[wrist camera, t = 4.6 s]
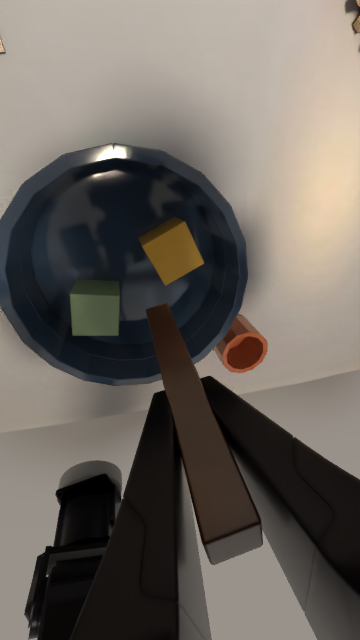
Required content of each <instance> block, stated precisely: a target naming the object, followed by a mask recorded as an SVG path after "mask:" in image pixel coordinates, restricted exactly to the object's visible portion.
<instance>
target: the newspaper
mask: <svg viewBox="0 0 360 640" xmlns="http://www.w3.org/2000/svg"><path fill="white" fill-rule="evenodd" d="M0 52H5V51H4V48H3V45H2V42H1V39H0Z"/></svg>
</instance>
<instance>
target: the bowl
mask: <svg viewBox="0 0 360 640" xmlns="http://www.w3.org/2000/svg"><path fill="white" fill-rule="evenodd" d="M174 216H175V217H177V218H179V219H181V220H183V221H185V222H186V224H187V226H188V228H189V231H190V233H191V235H192V237H193V239H194V241H195V244H196V246H197V248H198V250H199V252H200V254H201V256H202V259H203V261H204V264H203V265H201V266H199V267H197V268H196V269H194V270H192V271H190V272H189V273H187V274H185V275H184V276H182V277H180V278H178V279H177V280H175V281H173V282H171V283H170V284H168V285H166V286H165V285H164V283H163V281H162V280H161V278H160V276H159V275H158V273H157V271H156V269H155V268H154V266H153V264H152V263H151V261H150V259H149V257H148V256H147V254H146V252H145V251H144V249H143V247H142V245H141V243H140V241H139V237H140V236H142V235H144V234H145V233H147V232H149V231H150V230H152V229H154V228H155V227H157V226H159V225H161V224H162V223H164V222H166V221H167V220H169V219H171V218H172V217H174ZM76 279H88V280H106V281H119V290H120V305H119V335H118V336H73V335H72V321H71V304H70V293H71V291H72V288H73V286H74V283H75V281H76ZM247 279H248V269H247V256H246V243H245V239H244V236H243V234H242V231H241V229H240V227H239V224H238V222H237V219H236V217H235V214H234V212H233V210H232V207H231V206H230V204H229V203H228V202H227V200H226V199H225V198H224V197H223V196H222V195H221V194H220V192H219V191H218V190H217V189H216V188H215V187H214V186H213V184H212V183H211V182H210V181H209V180H208V179H207V178H206V177H205V175H204V174H202V172H200V171H198V170H196V169H194V168H193V167H191V166H189V165H187V164H185V163H184V162H182V161H180V160H178V159H176V158H175V157H173V156H171V155H169V154H167V153H166V152H164V151H161V150H155V149H149V148H142V147H136V146H129V145H123V144H116V143H114V144H112V143H111V144H106V145H102V146H97V147H93V148H88V149H84V150H80V151H75V152H71V153H66V154H64V155H61V156H60V157H59V158H57V159H56V160H54V161H53V162H52V163H50V164H49V165H47V166H46V167H44V168H43V169H42V170H40V171H39V172H37V173H36V174H35V175H33V176H32V177H30V178H29V179H27V180H26V181H25V182H24V184H22V185H21V187H20V188H19V190H18V191H17V193H16V195H15V196H14V198H13V200H12V201H11V203H10V205H9V206H8V208H7V209H6V211H5V213H4V214H3V216H2V218H1V219H0V305H1V308H2V311H3V312H4V314H5V315H6V317H7V318H8V320H9V321H10V323H11V325H12V326H13V328H14V329H15V331H16V332H17V334H18V335H19V337H20V339H21V340H22V341H23V342H24V343H25V344H26V345H27V346H28V347H29V348H31V349H32V350H33V351H34V352H35V353H37V354H38V355H39V356H40V357H41V358H43V359H44V360H45V361H46V362H47V363H49V364H50V365H52V366H53V367H55V368H57V369H59V370H62V371H64V372H66V373H68V374H71V375H73V376H75V377H77V378H79V379H82V380H84V381H90V382H96V383H102V384H108V385H113V386H122V385H136V384H148V383H152V382H155V381H158V380H161V379H162V376H161V372H160V368H159V364H158V359H157V355H156V351H155V347H154V343H153V339H152V335H151V331H150V327H149V322H148V318H147V314H146V309H148V308H151V307H155V306H158V305H162V304H165V303H167V304H168V306H169V308H170V311H171V313H172V315H173V317H174V320H175V322H176V324H177V327H178V329H179V331H180V334H181V336H182V338H183V340H184V343H185V345H186V347H187V350H188V352H189V354H190V357H191V359H192V361H193V363H194V364H195V363H197V362H199V361H200V360H202V359H203V358H204V357H206V356H207V355H208V354H209V352H210V351H211V350H212V349H213V348H214V347H215V346H216V345H217V344H218V343H219V342H220V341H221V340H222V339H223V338H224V337H225V336H226V334H227V332H228V331H229V329H230V327H231V325H232V323H233V321H234V320H235V318H236V316H237V314H238V312H239V311H240V308H241V305H242V301H243V297H244V292H245V288H246V283H247Z"/></svg>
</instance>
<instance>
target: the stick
mask: <svg viewBox="0 0 360 640" xmlns="http://www.w3.org/2000/svg"><path fill="white" fill-rule="evenodd" d="M146 314H147V318H148V322H149V327H150V331H151V335H152V339H153V343H154V347H155V351H156V355H157V359H158V364H159V368H160V372H161V376H162V380H163V384H164V388H165V392H166V396H167V399H168V402H169V406H170V410H171V414H172V419H173V423H174V429H175V433H176V437H177V442H178V446H179V450H180V454H181V458H182V462H183V466H184V470H185V474H186V478H187V483H188V487H189V491H190V495H191V499H192V503H193V507H194V511H195V515H196V520H197V524H198V527H199V532H200V536H201V540H202V543H203V546H204V548H205V551H206V554H207V556H208V559H209V561H210V563H211V564H212V565H215V564H218V563H220V562H223V561H225V560H228V559H230V558H233V557H235V556H238V555H241V554H243V553H246V552H248V551H251V550H253V549H256V548H258V547H261V546H262V545H263V539H262V522H261V518H260V515H259V513H258V511H257V508H256V506H255V504H254V502H253V499H252V497H251V495H250V492H249V490H248V488H247V485H246V483H245V481H244V479H243V476H242V474H241V472H240V469H239V467H238V465H237V462H236V460H235V458H234V456H233V453H232V451H231V449H230V446H229V444H228V442H227V439H226V437H225V435H224V433H223V430H222V428H221V426H220V423H219V421H218V419H217V417H216V415H215V413H214V411H213V409H212V407H211V405H210V403H209V400H208V398H207V396H206V393H205V391H204V388H203V385H202V382H201V380H200V377H199V375H198V373H197V370H196V368H195V366H194V363H193V361H192V359H191V357H190V354H189V352H188V350H187V347H186V345H185V343H184V340H183V338H182V336H181V334H180V331H179V329H178V327H177V324H176V322H175V320H174V317H173V315H172V313H171V311H170V308H169V306H168V304H167V303H165V304H162V305H158V306H155V307H151V308H148V309H146Z"/></svg>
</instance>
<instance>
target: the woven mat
mask: <svg viewBox="0 0 360 640" xmlns="http://www.w3.org/2000/svg"><path fill="white" fill-rule="evenodd" d="M357 4H358V6H359V7H360V0H357ZM353 26H354V27H355V29H356V31H357V32H358V33H359V32H360V17H359V18H358V19H357V20H356V22H355V23H354V24H353Z"/></svg>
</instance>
